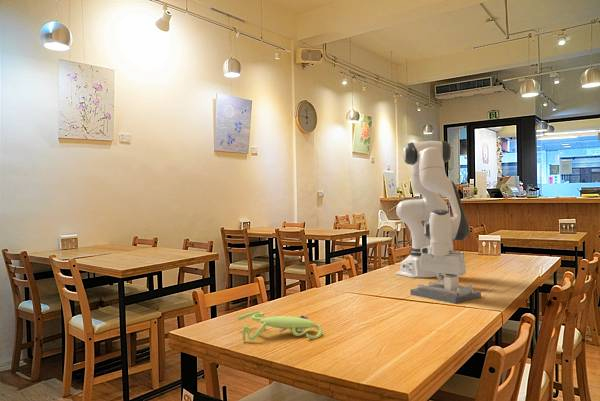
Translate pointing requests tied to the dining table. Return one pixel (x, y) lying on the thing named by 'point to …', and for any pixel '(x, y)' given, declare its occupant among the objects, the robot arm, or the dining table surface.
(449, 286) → the fader tab
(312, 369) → the dining table surface
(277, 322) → the figurine
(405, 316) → the dining table surface
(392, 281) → the dining table surface
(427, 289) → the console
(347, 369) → the dining table surface
